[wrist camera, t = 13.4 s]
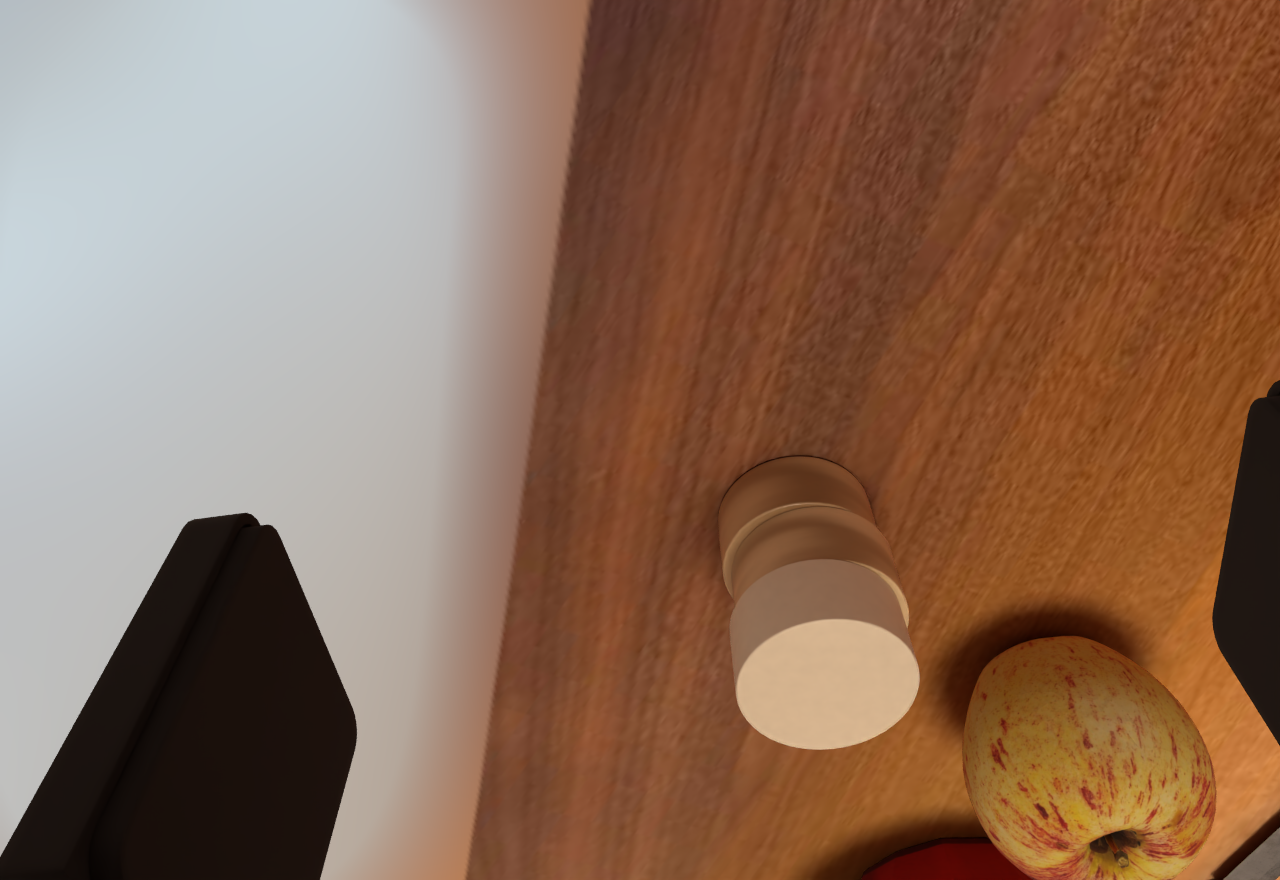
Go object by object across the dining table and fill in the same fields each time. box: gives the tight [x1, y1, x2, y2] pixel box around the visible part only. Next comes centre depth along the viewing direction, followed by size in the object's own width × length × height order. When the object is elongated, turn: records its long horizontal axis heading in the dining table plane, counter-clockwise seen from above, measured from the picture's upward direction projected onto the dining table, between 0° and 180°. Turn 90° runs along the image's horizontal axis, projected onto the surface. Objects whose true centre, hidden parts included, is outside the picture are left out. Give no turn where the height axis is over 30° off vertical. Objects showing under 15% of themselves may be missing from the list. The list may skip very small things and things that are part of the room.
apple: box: [962, 636, 1216, 880], centre depth 44 cm, size 9×9×10 cm
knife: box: [1223, 828, 1280, 880], centre depth 55 cm, size 28×3×1 cm, turn 159°
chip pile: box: [718, 456, 909, 628], centre depth 41 cm, size 6×6×6 cm
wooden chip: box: [730, 559, 920, 750], centre depth 37 cm, size 6×6×3 cm
